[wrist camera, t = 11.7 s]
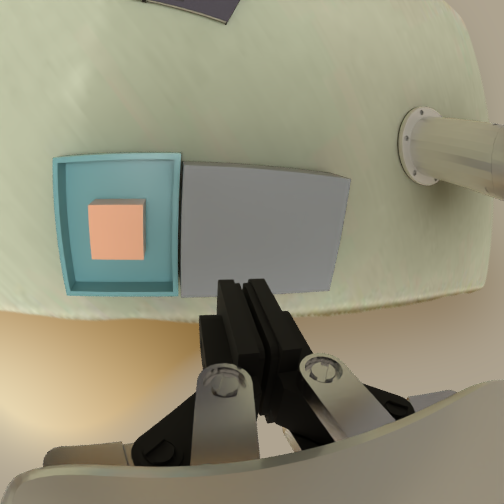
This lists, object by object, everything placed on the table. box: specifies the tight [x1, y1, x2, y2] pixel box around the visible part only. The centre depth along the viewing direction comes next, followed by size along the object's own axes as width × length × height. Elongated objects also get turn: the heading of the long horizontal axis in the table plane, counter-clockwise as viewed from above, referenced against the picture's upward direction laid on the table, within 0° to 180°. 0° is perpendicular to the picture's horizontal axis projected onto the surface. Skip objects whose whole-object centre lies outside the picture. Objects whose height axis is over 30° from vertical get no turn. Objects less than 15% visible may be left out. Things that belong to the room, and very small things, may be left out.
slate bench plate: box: [180, 161, 351, 297], centre depth 33 cm, size 18×14×5 cm
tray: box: [53, 152, 181, 296], centre depth 29 cm, size 14×16×3 cm
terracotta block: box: [88, 199, 146, 260], centre depth 29 cm, size 6×6×3 cm
